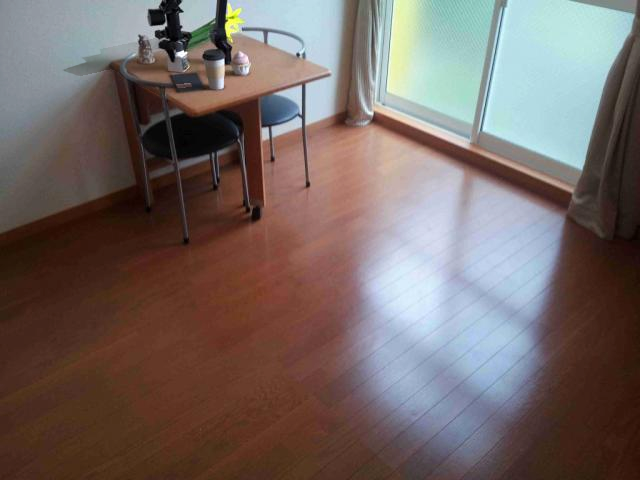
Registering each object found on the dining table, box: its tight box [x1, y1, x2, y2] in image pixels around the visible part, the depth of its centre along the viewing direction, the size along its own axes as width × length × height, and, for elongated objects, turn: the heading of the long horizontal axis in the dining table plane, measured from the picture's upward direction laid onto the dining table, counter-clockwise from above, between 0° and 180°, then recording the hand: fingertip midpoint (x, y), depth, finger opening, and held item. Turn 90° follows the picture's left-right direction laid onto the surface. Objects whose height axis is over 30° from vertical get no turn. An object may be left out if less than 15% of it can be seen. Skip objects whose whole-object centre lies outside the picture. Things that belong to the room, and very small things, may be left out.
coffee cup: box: [201, 48, 226, 91], centre depth 238 cm, size 9×9×15 cm
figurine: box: [137, 33, 156, 65], centre depth 262 cm, size 7×7×12 cm
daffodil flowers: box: [185, 2, 246, 52], centre depth 283 cm, size 17×15×35 cm
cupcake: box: [229, 50, 252, 77], centre depth 253 cm, size 9×9×10 cm
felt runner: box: [170, 71, 206, 93], centre depth 246 cm, size 11×20×1 cm, turn 20°
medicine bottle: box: [166, 42, 190, 74], centre depth 255 cm, size 7×7×12 cm
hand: (177, 59), depth 256 cm, fingers closed on medicine bottle, 8 cm apart
